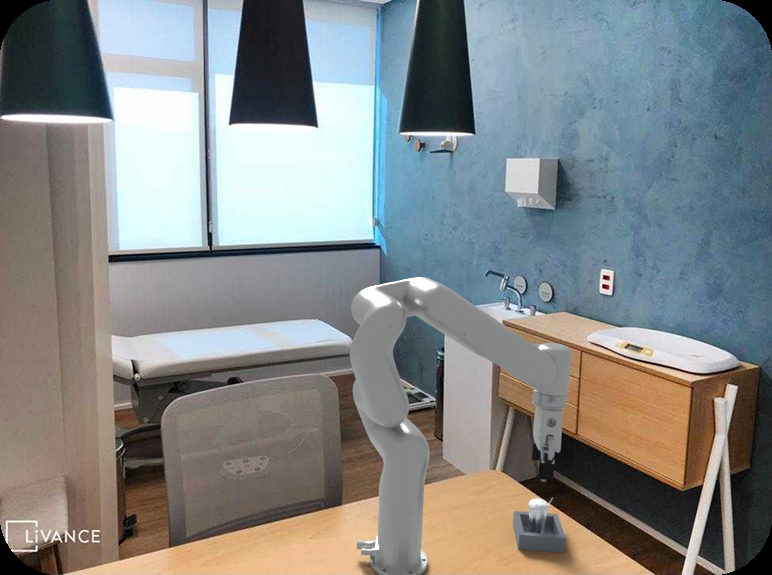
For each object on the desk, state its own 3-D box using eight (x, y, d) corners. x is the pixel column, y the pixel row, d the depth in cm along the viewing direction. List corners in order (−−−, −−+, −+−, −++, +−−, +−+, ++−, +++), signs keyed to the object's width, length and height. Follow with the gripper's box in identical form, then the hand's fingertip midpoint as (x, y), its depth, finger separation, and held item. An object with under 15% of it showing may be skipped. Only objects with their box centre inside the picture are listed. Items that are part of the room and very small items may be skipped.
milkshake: (551, 542, 151) (555, 502, 150) (528, 541, 151) (531, 501, 150) (546, 531, 156) (550, 492, 154) (524, 530, 156) (527, 491, 154)
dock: (518, 549, 149) (519, 534, 149) (512, 524, 160) (513, 511, 159) (564, 552, 149) (565, 538, 148) (556, 527, 159) (557, 514, 158)
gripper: (574, 413, 139) (565, 488, 142) (559, 387, 156) (551, 454, 159) (538, 410, 139) (530, 485, 142) (527, 384, 156) (520, 452, 159)
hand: (541, 469), depth 151 cm, fingers open, 9 cm apart
